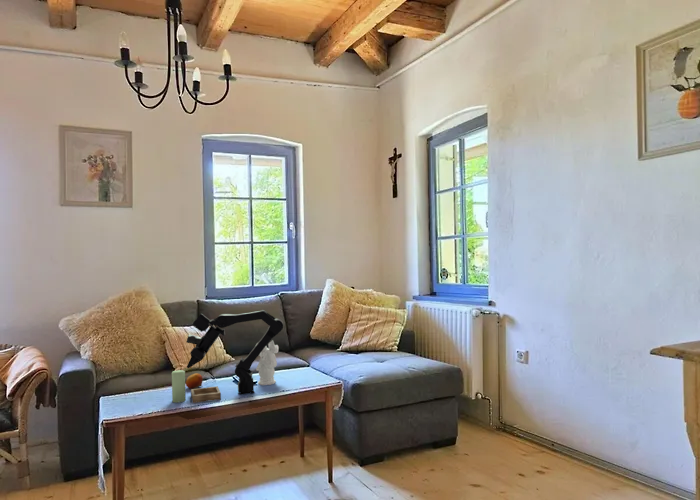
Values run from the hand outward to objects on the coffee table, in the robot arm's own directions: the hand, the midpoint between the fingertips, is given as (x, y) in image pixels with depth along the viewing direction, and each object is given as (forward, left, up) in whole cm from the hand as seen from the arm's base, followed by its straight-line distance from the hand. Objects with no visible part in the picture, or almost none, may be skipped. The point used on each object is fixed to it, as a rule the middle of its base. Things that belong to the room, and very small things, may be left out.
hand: (189, 365), depth 237 cm
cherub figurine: (-39, -7, -14) cm, 42 cm away
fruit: (-3, -14, -14) cm, 20 cm away
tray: (-6, +6, -14) cm, 17 cm away
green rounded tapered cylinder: (+5, +6, -14) cm, 16 cm away
